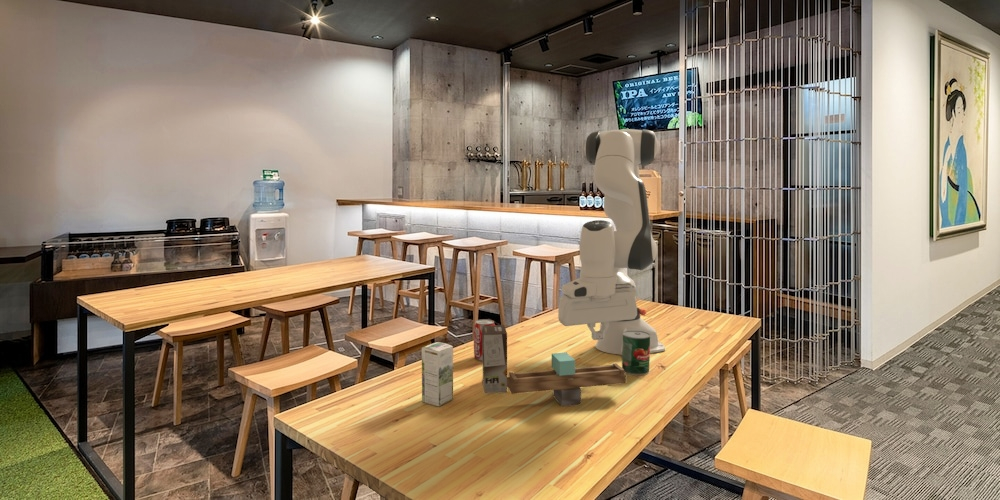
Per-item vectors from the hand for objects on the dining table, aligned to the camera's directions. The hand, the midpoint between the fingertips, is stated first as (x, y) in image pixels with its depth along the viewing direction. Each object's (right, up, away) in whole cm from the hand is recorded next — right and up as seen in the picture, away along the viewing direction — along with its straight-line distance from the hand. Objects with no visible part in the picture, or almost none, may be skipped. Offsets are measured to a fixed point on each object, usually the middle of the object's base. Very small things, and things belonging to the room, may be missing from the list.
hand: (598, 338), depth 137 cm
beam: (-8, -16, 0) cm, 18 cm away
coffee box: (-27, -15, +9) cm, 32 cm away
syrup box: (-41, -16, 0) cm, 44 cm away
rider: (-9, -9, -1) cm, 13 cm away
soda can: (-30, -12, +33) cm, 46 cm away
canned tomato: (+15, -13, +21) cm, 29 cm away
